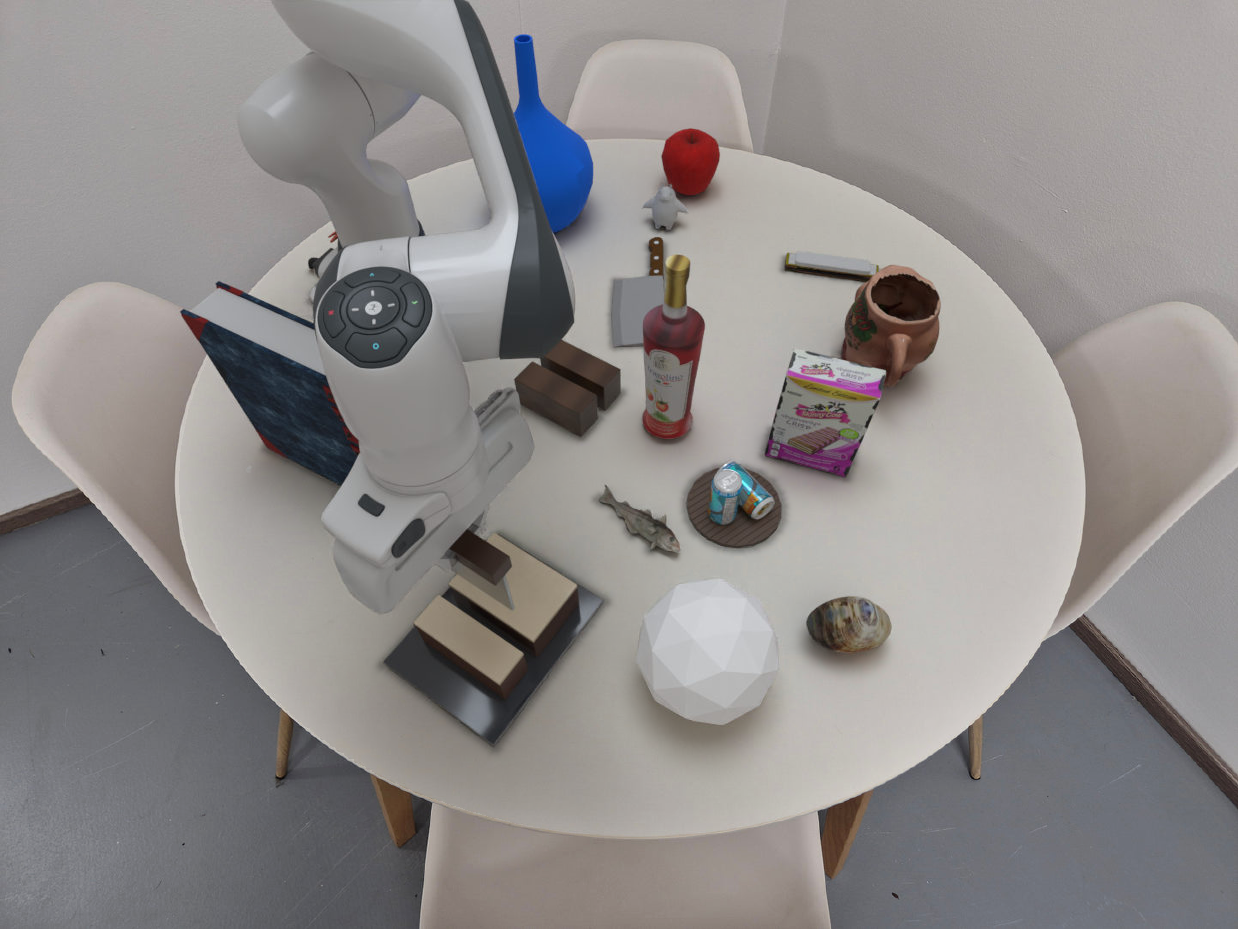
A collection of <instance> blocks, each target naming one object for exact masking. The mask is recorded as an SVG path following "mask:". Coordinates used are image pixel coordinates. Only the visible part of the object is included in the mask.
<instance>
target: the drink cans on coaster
mask: <svg viewBox="0 0 1238 929" xmlns="http://www.w3.org/2000/svg"><path fill="white" fill-rule="evenodd" d="M686 500H687V501H686V510H687V514H688V518H689V520H690V522H691V524H692V525H693V527H694V529H695V530H696V531H697V532H698V533H699V534H701V536H703V537H704V538H706V540H708V541H709V542H712V543H715V544H717V545H719V546H721V547H727V548H735V549H742V548H747V547H748V548H749V547H754V546H756V545H759V544H760V543H762V542H764V541H766V540H767V539H768V538H770V536H771V535H772V534H773V533H775V531H776V530H777V528H778V525H779V523H780V522H781V519H782V502H781V499H780V496H779V493H778V491H777V490H776V489H775V487H774V486H773V484H772V483H771V482H770V481H769V480H768V479H766V478H765V477H764V476H763V475H761V474H760V473H759V472H756V471H754V470H751V469H748V468H745V467H743V465H741V464H740V463H737V462H736V461H735V460H734V459H733V460H732V459H731V460H728V461H727V462H725V463H723V464H722V466H721V467H716V468H714V469H713V468H712V469H711V470H709V471H706V472H704V473H703V474H702V475H700V476H699V477H698V478H697V479H696V480H695V481H694V482H693V484H692V485H691V487H690V488H689V491H688V493H687V499H686Z"/></svg>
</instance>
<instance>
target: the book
mask: <svg viewBox="0 0 1238 929" xmlns="http://www.w3.org/2000/svg"><path fill="white" fill-rule="evenodd" d="M214 284H215V287H216V289H215V290H214V291H213V292H212V293H211V294H209V295H208V296H206V297H205V298H204V299H203V300H202V301H200V302H199V303H198V304H196V305H195V306H194V307H193V308H191V309H190V310H187V309H186V308H183V309H181V310H180V311H179V314H180V315H181V318H182V319H183V321H184V323H185V324H186V325H187V327H188V328H189V330H190V332H191V333H192V334H193V336H194V337H195V339H196V340H197V341H198V343H199V344H200V346H201V347H202V349H203V350H204V352H205V353H206V355H207V356H208V358H209V360H210V361H211V363H212V364H213V366H214V367H215V369H216V371H217V372H218V374H219V375H220V377H221V378H222V380H223V381H224V383H225V385H226V387H227V388H228V389H229V391H230V393H231V394H232V396H233V397H234V399H235V400H236V402H237V404H238V405H239V407H240V408H241V410H242V411H243V413H244V415H245V416H246V417H247V419H248V421H249V423H250V424H251V425H252V427H253V428H254V430H255V432H256V434H257V435H258V436H259V438H260V440H261V442H262V443H263V445H264V446H265V447H266V448H267V449H269V450H270V451H272V452H274V453H276V454H278V455H280V456H282V457H283V458H285V459H287V460H289V461H291V462H294V463H296V464H298V465H300V466H302V467H304V468H306V469H307V470H309V471H311V472H313V473H315V474H317V475H319V476H321V477H323V478H325V479H327V480H328V481H330V482H333V483H334V484H336V485H338V486H340V487H341V486H342V484H343V483H344V481H345V480H346V478H347V476H348V475H349V473H350V471H351V469H352V467H353V465H354V463H355V461H356V459H357V457H358V455H359V453H360V449H359V440H358V439H357V438H356V437H355V436H354V435H353V434H352V433H351V432H350V430H349V429H348V427H347V426H346V424H345V422H344V420H343V418H342V415H341V413H340V411H339V409H338V407H337V404H336V402H335V400H334V397H333V394H332V392H331V389H330V386H329V383H328V380H327V377H326V374H325V370H324V367H323V363H322V359H321V356H320V351H319V346H318V343H317V339H316V335H315V329H314V322H312V321H309V320H307V319H305V318H302V317H301V316H299V315H296V314H294V313H291V312H290V311H287V310H285V309H282V308H281V307H278V306H277V305H274V304H271V303H270V302H267V301H265V300H262V299H260V298H258V297H256V296H253V295H251V294H249V293H247V292H245V291H243V290H241V289H239V288H237V287H234V286H232V285H229V284H227V283H225V282H222V281H220V280H218V281H216V282H215V283H214Z"/></svg>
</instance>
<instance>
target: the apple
mask: <svg viewBox="0 0 1238 929" xmlns="http://www.w3.org/2000/svg"><path fill="white" fill-rule="evenodd" d="M662 149H663V150H662V152H661V163H662V169H663V172H664V175H665V179H666V181H667V184H668V186H670V184H671V185H672V189H673V190H674V192H677V193H679V194H680V195H684V196H695V195H699V194H700V193H701V194H702V193H703V192H705V191H706V190H707V189H708V188H709V186H710V184H711V182H712V180H713V178H714V177H715V175H716V172H717V168H718V166H719V163H720V158H721V152H720V147H719V144H718V142H717V140H716V138H715V137H713V136H712V135H710V134H709V133H708V132H705V131H703V130H701V129H698V128H692V127H690V128H684V129H681V130H678V131H676V132H674V133H673V134H672V135H670V136H669V137H668V138H666V139H665V142H664V146H663V148H662Z"/></svg>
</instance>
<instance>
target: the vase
mask: <svg viewBox="0 0 1238 929" xmlns="http://www.w3.org/2000/svg"><path fill="white" fill-rule="evenodd" d="M513 45H514V57H515V58H514V59H515V67H516V68H515V69H516V77H517V80H516V81H517V89H518V103H517V106H516V108H515V110H514V111H513V113H514V116H515V119H516V122H517V125H518V130H519V132H520V135H521V138H522V141H523V144H524V148H525V150H526V153H527V157H528V160H529V163H530V166H531V169H532V172H533V175H534V179H535V182H536V185H537V188H538V192H539V195H540V198H541V201H542V204H543V207H544V210H545V213H546V216H547V219H548V222H549V224H550V227H551V230H552V232H553V234H554V235H555V234H556V233H559V232H561V231H562V230H564V229H565V228H567V227H569V226H570V225H571V224H572V223H573V222H574V221H576V220H577V218H578V217H579V215H580V214H581V213H582V211H583V210H584V208H585V206H586V204H587V202H588V198H589V195H590V192H591V190H592V187H593V184H594V161H593V157H592V154H591V150H590V148H589V145H588V142H586V140H585V139H584V138H583V136H581V135H580V134H578V133H577V132H576V131H574V130H573V129H572V128H570V127H569V126H568V125H566V124H565V123H563V122H562V121H561V120H560V119H559V118H557V117H556V116H555V115H554V114H553V113H552V112H551V111H550V110H548V109H547V107H546V106H545V104H544V103H543V102H542V98H541V97H540V90H539V81H538V70H537V64H536V63H537V62H536V55H535V48H534V39H533V36H532V35H530V34H527V33H524V34H523V33H521V34H518V35H516V36H514V37H513Z"/></svg>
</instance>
